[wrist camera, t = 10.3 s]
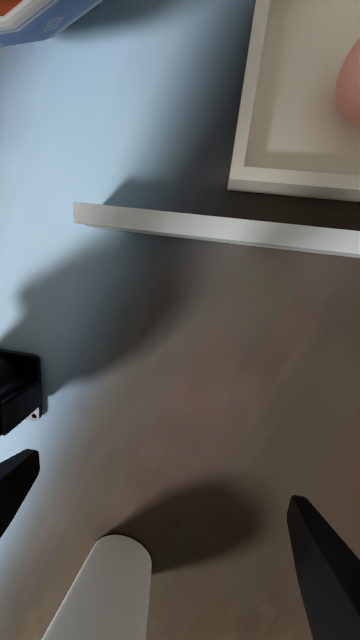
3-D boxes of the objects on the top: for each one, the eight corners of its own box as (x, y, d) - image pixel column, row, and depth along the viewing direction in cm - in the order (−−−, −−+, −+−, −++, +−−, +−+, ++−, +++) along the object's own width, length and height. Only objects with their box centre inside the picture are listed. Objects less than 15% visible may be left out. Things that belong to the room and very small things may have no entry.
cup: (173, 585, 27) (142, 836, 15) (99, 587, 28) (20, 814, 17) (148, 520, 25) (91, 749, 13) (71, 527, 26) (-39, 734, 15)
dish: (227, 189, 17) (229, 178, 14) (257, -11, 14) (265, -64, 12) (390, 204, 16) (422, 195, 13) (457, -9, 13) (510, -67, 11)
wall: (95, 228, 18) (73, 222, 15) (95, 211, 18) (73, 201, 15) (378, 260, 16) (414, 260, 13) (384, 241, 16) (422, 237, 13)
